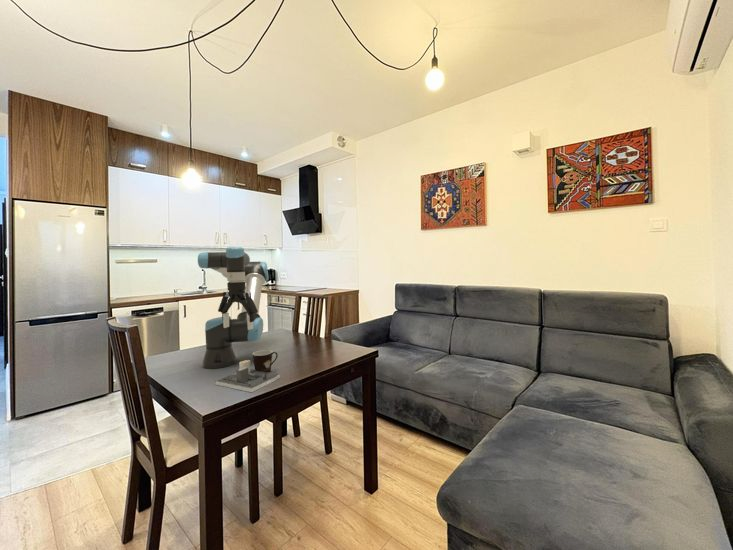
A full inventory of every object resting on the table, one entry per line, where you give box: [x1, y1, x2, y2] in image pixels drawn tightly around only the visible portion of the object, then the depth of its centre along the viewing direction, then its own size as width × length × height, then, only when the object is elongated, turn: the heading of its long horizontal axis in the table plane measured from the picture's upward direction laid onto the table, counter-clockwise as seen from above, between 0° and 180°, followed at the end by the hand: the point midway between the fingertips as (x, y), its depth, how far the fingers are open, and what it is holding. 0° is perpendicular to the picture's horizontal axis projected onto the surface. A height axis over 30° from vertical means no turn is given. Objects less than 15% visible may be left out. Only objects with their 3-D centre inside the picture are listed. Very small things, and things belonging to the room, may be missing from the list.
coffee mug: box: [252, 349, 279, 372], centre depth 143 cm, size 12×9×10 cm
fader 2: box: [235, 367, 249, 382], centre depth 129 cm, size 2×4×5 cm, turn 154°
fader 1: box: [239, 359, 252, 372], centre depth 139 cm, size 2×4×5 cm, turn 154°
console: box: [215, 368, 281, 393], centre depth 133 cm, size 20×16×4 cm
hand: (238, 328), depth 143 cm, fingers open, 13 cm apart
